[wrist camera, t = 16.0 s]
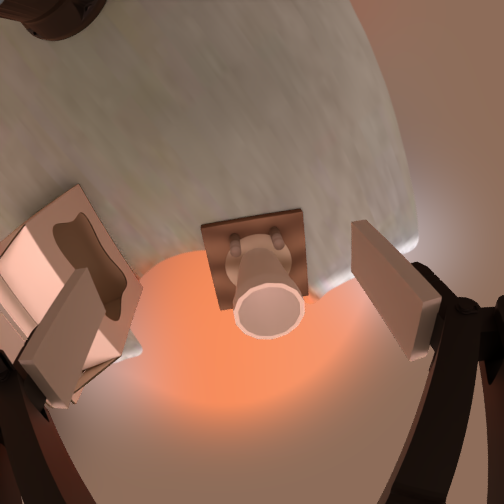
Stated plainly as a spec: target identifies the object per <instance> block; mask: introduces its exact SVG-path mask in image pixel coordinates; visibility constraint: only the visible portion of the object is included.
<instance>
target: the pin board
mask: <svg viewBox="0 0 504 504" xmlns="http://www.w3.org/2000/svg"><path fill="white" fill-rule="evenodd" d="M201 232H202V236H203V240H204V245H205V249H206V253H207V258H208V262H209V266H210V270H211V274H212V278H213V283H214V287H215V291H216V295H217V299H218V303H219V307H220V310H227V309H233V299H234V297H235V293H236V286H237V279H238V272H239V266H240V262H241V259H242V257H243V255H245V254H246V253H247V252H248V251H249V250H252V249H254V248H266V249H268V250H270V251H272V252H273V253H274V254H275V256H276V257H277V258H278V260H279V261H280V263H281V265H282V266H283V268H284V269H285V271H286V272H287V274H288V275H289V277H290V278H291V280H293V281H294V282H295V284H296V285H297V287H298V288H299V290H300V291H301V294H302V296H307V295H308V278H307V263H306V249H305V235H304V223H303V212H302V210H301V209H294V210H288V211H281V212H275V213H269V214H263V215H256V216H250V217H244V218H239V219H233V220H227V221H221V222H215V223H210V224H204V225H201Z"/></svg>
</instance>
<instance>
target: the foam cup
mask: <svg viewBox="0 0 504 504" xmlns="http://www.w3.org/2000/svg"><path fill="white" fill-rule="evenodd" d="M233 312H234V317H235V322H236V325H237V326H238V327H239V328H240V329H241V330H242V332H243V333H244V334H246V335H249V336H251V337H254V338H256V339H275V338H278V337H281V336H284V335H286V334H288V333H289V332H291V331H292V330H293V329H294V328H296V327H297V326H298V325H299V323H300V321H301V319H302V318H303V316H304V314H305V310H304V299H303V296H302V294H301V291H300V290H299V288H298V287H297V285H296V284H295V282H294V281H293V280H291V278H290V277H289V275H288V274H287V272H286V271H285V269H284V268H283V266H282V265H281V263H280V261H279V260H278V258H277V257H276V256H275V254H274V253H273V252H272V251H270V250H268V249H266V248H254V249H252V250H249V251H248V252H247V253H246V254H245V255H243V257H242V259H241V262H240V266H239V272H238V279H237V286H236V293H235V297H234V299H233Z"/></svg>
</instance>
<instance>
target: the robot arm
mask: <svg viewBox="0 0 504 504" xmlns="http://www.w3.org/2000/svg"><path fill="white" fill-rule="evenodd" d="M105 2H106V0H0V18H5V19H10V20H15V21H19V22H21V23H22V24H23V25H24V27H25V28H26V29H27V30H28V32H29V33H30V34H32V35H33V36H35V37H37V38H40V39H44V40H49V41H58V40H63V39H66V38H69V37H71V36H73V35H75V34H77V33H78V32H80V31H81V30H83V29H84V28H85V27H87V26H88V25H89V24H90V23H91V22H92V21H93V20H94V19H95V18H96V16H97V15H98V14H99V13H100V11H101V10H102V8H103V6H104V4H105ZM351 230H352V259H351V272H352V273H353V275H354V276H355V277H356V279H357V280H358V282H359V283H360V285H361V286H362V288H363V289H364V291H365V292H366V294H367V295H368V297H369V298H370V300H371V301H372V303H373V305H374V306H375V308H376V309H377V311H378V312H379V314H380V315H381V317H382V318H383V320H384V322H385V323H386V325H387V326H388V328H389V330H390V331H391V333H392V334H393V336H394V338H395V339H396V341H397V342H398V344H399V346H400V347H401V349H402V350H403V352H404V354H405V355H406V357H407V358H408V360H409V362H410V361H413V360H416V359H419V358H422V357H425V356H427V353H428V349H429V345H431V347H432V348H433V349H434V351H435V353H434V356H433V360H432V362H431V365H430V368H429V374H428V378H427V381H426V385H425V388H424V391H423V394H422V397H421V401H420V403H419V406H418V409H417V412H416V415H415V418H414V421H413V423H412V426H411V429H410V432H409V434H408V437H407V439H406V442H405V444H404V447H403V449H402V452H401V454H400V456H399V459H398V461H397V463H396V466H395V468H394V470H393V472H392V474H391V477H390V479H389V481H388V483H387V485H386V487H385V489H384V491H383V493H382V495H381V497H380V499H379V501H378V503H377V504H446V503H445V502H446V497H447V494H448V491H449V488H450V485H451V482H452V479H453V476H454V473H455V470H456V467H457V463H458V459H459V456H460V453H461V449H462V445H463V441H464V437H465V433H466V429H467V424H468V419H469V415H470V409H471V404H472V399H473V392H474V386H475V380H476V371H477V364H478V361H479V366H480V372H481V378H482V385H483V393H484V402H485V411H486V423H487V440H488V495H487V504H504V295H502V296H500V297H499V298H498V300H497V303H496V306H495V307H484V308H481V307H480V306H479V305H478V303H477V302H475V301H473V300H472V299H469V298H466V297H457V296H456V295H455V294H454V293H453V292H452V291H451V290H450V289H449V288H448V287H447V286H446V285H445V284H444V283H443V282H442V281H441V280H440V279H439V278H438V277H437V276H436V275H434V273H433V272H432V271H431V270H430V269H429V268H428V267H427V266H425V265H423V264H421V263H419V262H414V263H410V262H409V261H408V260H407V259H405V257H404V256H403V255H402V254H401V253H400V252H399V251H398V250H397V249H396V248H395V247H394V246H393V245H392V244H391V243H390V242H389V241H388V240H387V239H386V238H385V237H384V236H382V235H381V234H380V233H379V232H378V231H377V230H376V229H375V228H374V227H373V226H372V225H371V224H370V223H369V222H368V221H367V220H360V221H354V222H351ZM105 313H106V310H105V308H104V305H103V303H102V301H101V299H100V296H99V294H98V292H97V290H96V287H95V285H94V282H93V280H92V278H91V275H90V273H89V270H88V268H87V267H86V268H81V269H76V270H75V271H74V272H73V273H72V275H71V276H70V278H69V279H68V281H67V282H66V284H65V285H64V286H63V288H62V289H61V291H60V292H59V294H58V295H57V297H56V298H55V300H54V301H53V303H52V305H51V306H50V308H49V309H48V311H47V312H46V314H45V315H44V317H43V319H42V320H41V322H40V323H39V324H38V325H37V326H36V327H35V328H34V329H33V330H32V332H31V333H30V335H29V337H28V340H26V342H25V343H24V346H23V347H22V348H21V350H20V352H19V354H18V355H17V357H16V359H15V361H14V363H13V364H12V363H11V361H10V360H9V358H8V357H7V355H6V354H5V352H4V351H3V350H1V349H0V504H22V499H23V502H24V504H96V502H95V501H94V499H93V497H92V496H91V494H90V492H89V491H88V489H87V487H86V486H85V484H84V482H83V481H82V479H81V477H80V475H79V473H78V472H77V470H76V468H75V466H74V464H73V462H72V460H71V459H70V456H69V455H68V453H67V451H66V448H65V446H64V444H63V442H62V440H61V438H60V436H59V434H58V432H57V429H56V427H55V425H54V423H53V420H52V418H51V416H50V413H49V411H48V409H46V407H45V406H44V404H45V401H46V399H47V400H48V401H49V402H50V403H51V405H52V406H53V407H54V408H65V409H68V408H69V405H70V402H71V399H72V396H73V393H74V390H75V388H76V385H77V382H78V379H79V377H80V374H81V371H82V369H83V366H84V363H85V361H86V358H87V356H88V353H89V351H90V348H91V346H92V343H93V341H94V338H95V336H96V334H97V331H98V329H99V327H100V324H101V322H102V320H103V317H104V315H105ZM21 496H22V499H21Z"/></svg>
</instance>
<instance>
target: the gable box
mask: <svg viewBox="0 0 504 504" xmlns="http://www.w3.org/2000/svg"><path fill="white" fill-rule="evenodd" d="M86 267H87V268H88V270H89V273H90V275H91V278H92V280H93V282H94V285H95V287H96V290H97V292H98V294H99V296H100V299H101V301H102V303H103V305H104V308H105V310H106V313H105V315H104V317H103V320H102V322H101V324H100V327H99V329H98V331H97V334H96V336H95V338H94V341H93V343H92V346H91V348H90V351H89V353H88V356H87V358H86V361H85V363H84V366H83V369H82V371H81V374H80V377H79V379H78V382H77V385H76V388H75V390H74V393H73V396H72V399H71V402H72V403H73V404H76V403H77V401H78V399H79V397H80V394H81V392H82V390H83V387H84V386H85V385H86V384H87V383H89V382H90V381H91V380H92V379H94V378H95V377H96V376H97V375H99V374H100V373H101V372H102V371H103V370H105V369H106V368H107V367H108V366H110V365H111V364H112V363H113V362H115V361H116V360H117V359H118V358H120V357H121V355H122V352H123V348H124V345H125V342H126V338H127V335H128V332H129V329H130V326H131V322H132V320H133V316H134V313H135V310H136V307H137V304H138V302H139V299H140V296H141V293H142V290H143V287H142V285H141V284H140V282H139V281H138V279H137V278H136V276H135V275H134V273H133V272H132V270H131V269H130V267H129V266H128V264H127V263H126V261H125V260H124V258H123V257H122V255H121V253H120V252H119V250H118V249H117V247H116V246H115V244H114V242H113V241H112V239H111V238H110V236H109V234H108V233H107V231H106V230H105V228H104V226H103V225H102V223H101V221H100V220H99V218H98V216H97V215H96V213H95V211H94V209H93V208H92V206H91V204H90V203H89V201H88V199H87V197H86V196H85V194H84V192H83V190H82V189H81V187H80V185H79V184H77V185H76V186H74V187H73V188H71V189H70V190H68V191H67V192H65V193H64V194H62V195H61V196H59V197H58V198H56V199H55V200H54V201H52V202H51V203H49V204H48V205H47V206H45V207H44V208H43V209H41V210H40V211H38V212H37V213H36V214H34V215H33V216H32V217H30V218H29V219H28V220H27V221H25V222H24V223H23V224H22V225H20V226H19V227H18V228H17V229H15V230H14V231H13V232H12V233H11V234H9V235H8V236H7V237H6V238H5V239H4V240H2V241H1V242H0V303H1V304H2V306H3V307H4V308H5V309H6V311H7V312H8V313H9V315H10V316H11V317H12V319H13V320H14V321H15V323H16V324H17V325H18V326H19V327H20V329H21V330H22V331H23V332H24V334H25V335H26V336H27V337H29V335H30V333H31V332H32V330H33V329H34V328H35V327H36V326H37V325H38V324H39V323H40V322H41V320H42V319H43V317H44V315H45V314H46V312H47V311H48V309H49V308H50V306H51V305H52V303H53V301H54V300H55V298H56V297H57V295H58V294H59V292H60V291H61V289H62V288H63V286H64V285H65V284H66V282H67V281H68V279H69V278H70V276H71V275H72V273H73V272H74V271H75V270H76V269H81V268H86ZM24 343H25V341H24V339H23V338H22V337H21V336H20V335H19V334H18V332H17V331H16V330H15V329H14V328H13V326H12V325H11V324H10V322H9V321H8V320H7V319H6V317H5V316H4V315H3V314H2V312H1V311H0V349H1V350H3V351H4V352H5V354H6V355H7V357H8V358H9V360H10V361H11V363H12V364H13V363H14V361H15V359H16V357H17V355H18V354H19V352H20V350H21V348H22V347H23V346H24ZM85 370H86V371H85ZM84 371H85V372H84ZM83 372H84V373H83ZM45 403H46V404H47V405H48V406H49V407H51V408H54V407H53V406H52V405H51V403H50V402H49V401H48V400H47V399H46V401H45Z"/></svg>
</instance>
